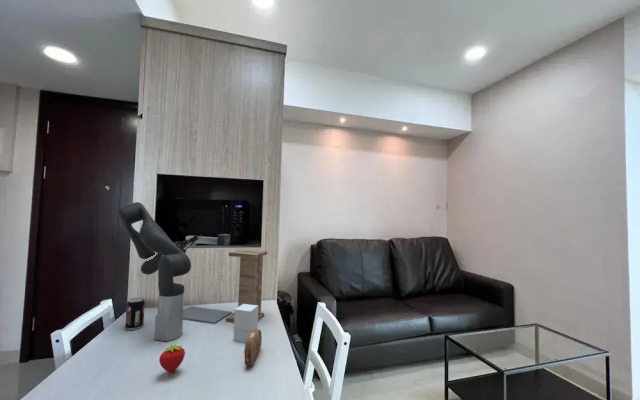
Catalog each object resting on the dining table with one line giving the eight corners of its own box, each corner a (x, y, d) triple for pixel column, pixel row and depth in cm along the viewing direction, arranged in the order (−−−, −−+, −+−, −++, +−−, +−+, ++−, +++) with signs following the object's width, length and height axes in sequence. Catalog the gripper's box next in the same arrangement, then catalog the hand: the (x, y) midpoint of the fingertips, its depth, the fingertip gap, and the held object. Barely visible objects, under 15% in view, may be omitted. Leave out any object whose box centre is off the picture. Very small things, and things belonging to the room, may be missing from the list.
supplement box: (258, 335, 116) (259, 305, 117) (249, 343, 109) (250, 311, 110) (242, 333, 118) (243, 303, 119) (232, 340, 111) (234, 308, 112)
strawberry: (154, 375, 87) (156, 342, 87) (179, 365, 93) (180, 334, 93) (163, 382, 83) (164, 349, 84) (187, 371, 89) (189, 340, 89)
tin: (251, 370, 91) (252, 344, 91) (241, 370, 91) (243, 344, 91) (262, 348, 106) (262, 325, 106) (253, 347, 106) (254, 325, 106)
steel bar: (224, 245, 135) (224, 235, 136) (184, 242, 141) (184, 232, 141) (229, 244, 140) (230, 234, 140) (190, 241, 146) (191, 231, 146)
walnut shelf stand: (252, 325, 126) (255, 255, 127) (225, 321, 129) (228, 252, 131) (264, 316, 138) (267, 251, 139) (239, 312, 141) (241, 249, 142)
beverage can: (141, 329, 118) (143, 301, 118) (122, 331, 116) (124, 302, 116) (144, 323, 124) (146, 296, 125) (127, 325, 122) (129, 297, 122)
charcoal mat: (214, 324, 126) (214, 322, 126) (170, 317, 132) (170, 315, 132) (231, 313, 140) (231, 311, 140) (190, 307, 146) (191, 306, 146)
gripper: (160, 246, 139) (187, 231, 135) (181, 243, 152) (205, 229, 149) (166, 260, 138) (193, 245, 134) (186, 256, 151) (211, 242, 148)
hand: (199, 236), depth 142 cm, fingers closed on steel bar, 3 cm apart
